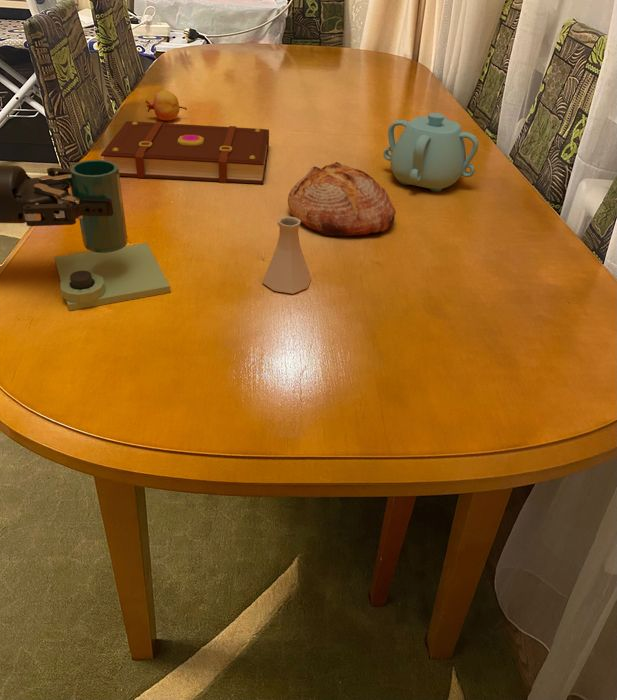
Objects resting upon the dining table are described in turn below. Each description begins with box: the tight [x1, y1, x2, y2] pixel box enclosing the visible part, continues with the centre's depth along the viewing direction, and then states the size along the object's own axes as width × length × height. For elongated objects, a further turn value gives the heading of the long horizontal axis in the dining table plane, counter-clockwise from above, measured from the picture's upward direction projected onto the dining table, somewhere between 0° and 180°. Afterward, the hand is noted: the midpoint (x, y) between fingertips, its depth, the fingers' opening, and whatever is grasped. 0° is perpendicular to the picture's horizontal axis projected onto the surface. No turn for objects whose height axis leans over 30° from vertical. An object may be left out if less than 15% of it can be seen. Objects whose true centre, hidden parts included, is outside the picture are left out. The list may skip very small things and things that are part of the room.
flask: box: [261, 215, 312, 295], centre depth 89 cm, size 7×7×10 cm
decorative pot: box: [383, 112, 479, 192], centre depth 124 cm, size 16×16×14 cm
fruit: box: [144, 89, 188, 122], centre depth 148 cm, size 7×7×10 cm
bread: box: [287, 161, 396, 237], centre depth 108 cm, size 16×20×10 cm
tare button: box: [70, 271, 93, 290], centre depth 83 cm, size 3×3×2 cm
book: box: [100, 120, 270, 185], centre depth 127 cm, size 23×32×5 cm
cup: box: [69, 159, 129, 253], centre depth 83 cm, size 6×6×11 cm
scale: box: [54, 242, 172, 312], centre depth 89 cm, size 14×14×2 cm
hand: (116, 197), depth 82 cm, fingers closed on cup, 6 cm apart
